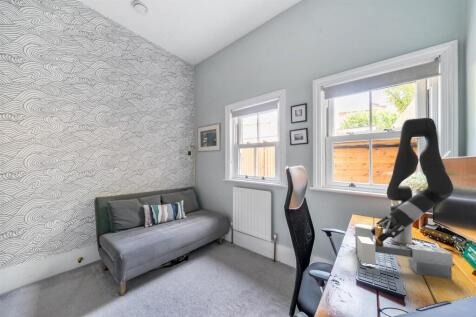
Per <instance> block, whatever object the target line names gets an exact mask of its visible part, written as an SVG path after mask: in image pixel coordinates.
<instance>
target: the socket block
mask: <svg viewBox="0 0 476 317" xmlns="http://www.w3.org/2000/svg"><path fill="white" fill-rule="evenodd" d="M374 243H375V242H374V240H373V241H372V240H371V239H370V238H368V237H360V236H357V244H358V250H357V259H358V258H359V259H360V260H361V262H362V263H366V264H372V265H376V266H377V264H376V260H377V258H376V252H375V244H374ZM359 259H358V260H359ZM360 260H359V261H360ZM361 262H360V263H361Z"/></svg>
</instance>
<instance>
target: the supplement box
mask: <svg viewBox="0 0 476 317" xmlns="http://www.w3.org/2000/svg"><path fill="white" fill-rule="evenodd" d="M372 229H374V228H373V225H369V224H363V223H356V224H355V226H354V234H355V235H354V237H355V240H354V241H355V250H356V251H358V244H357V236H360V237H368V238H370V239H371V240H372V241H373V242H374V234H373V233H372V232H371V230H372Z"/></svg>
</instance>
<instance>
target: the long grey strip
mask: <svg viewBox="0 0 476 317" xmlns="http://www.w3.org/2000/svg"><path fill="white" fill-rule="evenodd" d="M374 228H375V236H374V237H375V238H374V240H375V242H373V243H374V244H375V253H378V254H386V255H393V256H398V257H399V256H400V257H406V258H407V257H408V258H409V257H412V250H411V249H410V248H409V247H406V246H401V245H400V246H399V245H391V244H384V241H383V242H381V241H379V240H378V239H377V237H378V236H380V235H381V234H383V233H384V229H383V228H382V227H378V226H376V225H375V227H374Z"/></svg>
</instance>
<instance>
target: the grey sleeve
mask: <svg viewBox="0 0 476 317" xmlns="http://www.w3.org/2000/svg"><path fill="white" fill-rule="evenodd" d="M405 247H409V248H410V249H411V250H412V257H408V267H409V268H410V269H411V270H412V271H413V272H414V273H415V274H417V275H422V276H427V277H432V278H433V277H434V278H441V279H446V280H453V270H452V268H453V267H454V265H453V264H454V262H453V260H454V259H453V258H454V257H453V256H454V255H453V253H452V252H450V251H448V250H446V249H445V248H441V247H432V246H425V245H417V244H405Z"/></svg>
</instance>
